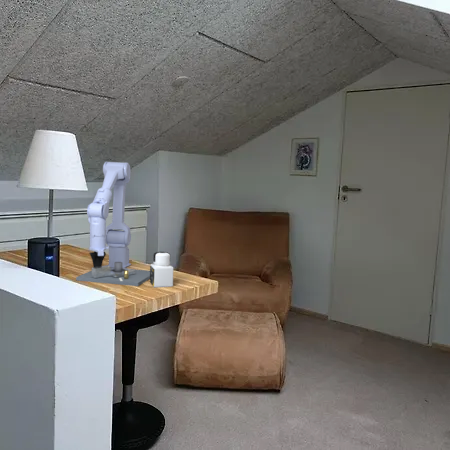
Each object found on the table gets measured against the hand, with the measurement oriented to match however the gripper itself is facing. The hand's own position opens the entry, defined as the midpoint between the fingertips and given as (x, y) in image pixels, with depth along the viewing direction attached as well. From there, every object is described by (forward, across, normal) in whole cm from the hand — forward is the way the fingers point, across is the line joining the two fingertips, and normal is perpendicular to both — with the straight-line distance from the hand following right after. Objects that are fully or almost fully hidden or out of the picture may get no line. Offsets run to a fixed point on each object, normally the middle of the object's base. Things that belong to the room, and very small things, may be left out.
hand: (97, 271), depth 168 cm
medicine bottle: (+3, -14, -20) cm, 25 cm away
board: (+3, +1, -8) cm, 9 cm away
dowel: (+2, -7, -9) cm, 12 cm away
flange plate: (+1, 0, -5) cm, 5 cm away
